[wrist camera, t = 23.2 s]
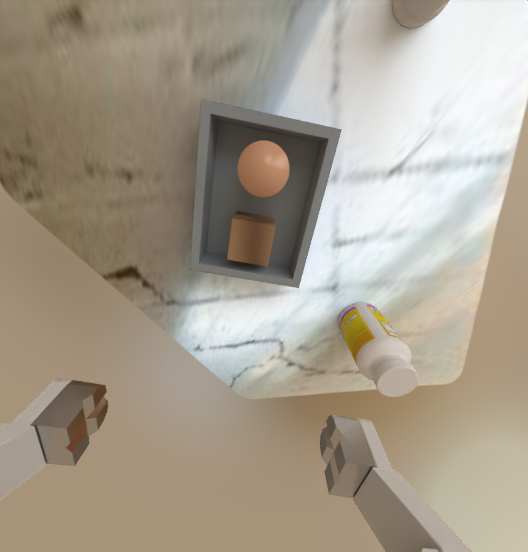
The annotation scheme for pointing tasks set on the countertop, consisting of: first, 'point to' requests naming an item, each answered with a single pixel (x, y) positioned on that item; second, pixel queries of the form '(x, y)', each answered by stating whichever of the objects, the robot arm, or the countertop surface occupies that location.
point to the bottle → (417, 11)
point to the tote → (234, 197)
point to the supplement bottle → (378, 349)
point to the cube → (251, 238)
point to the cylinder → (263, 168)
